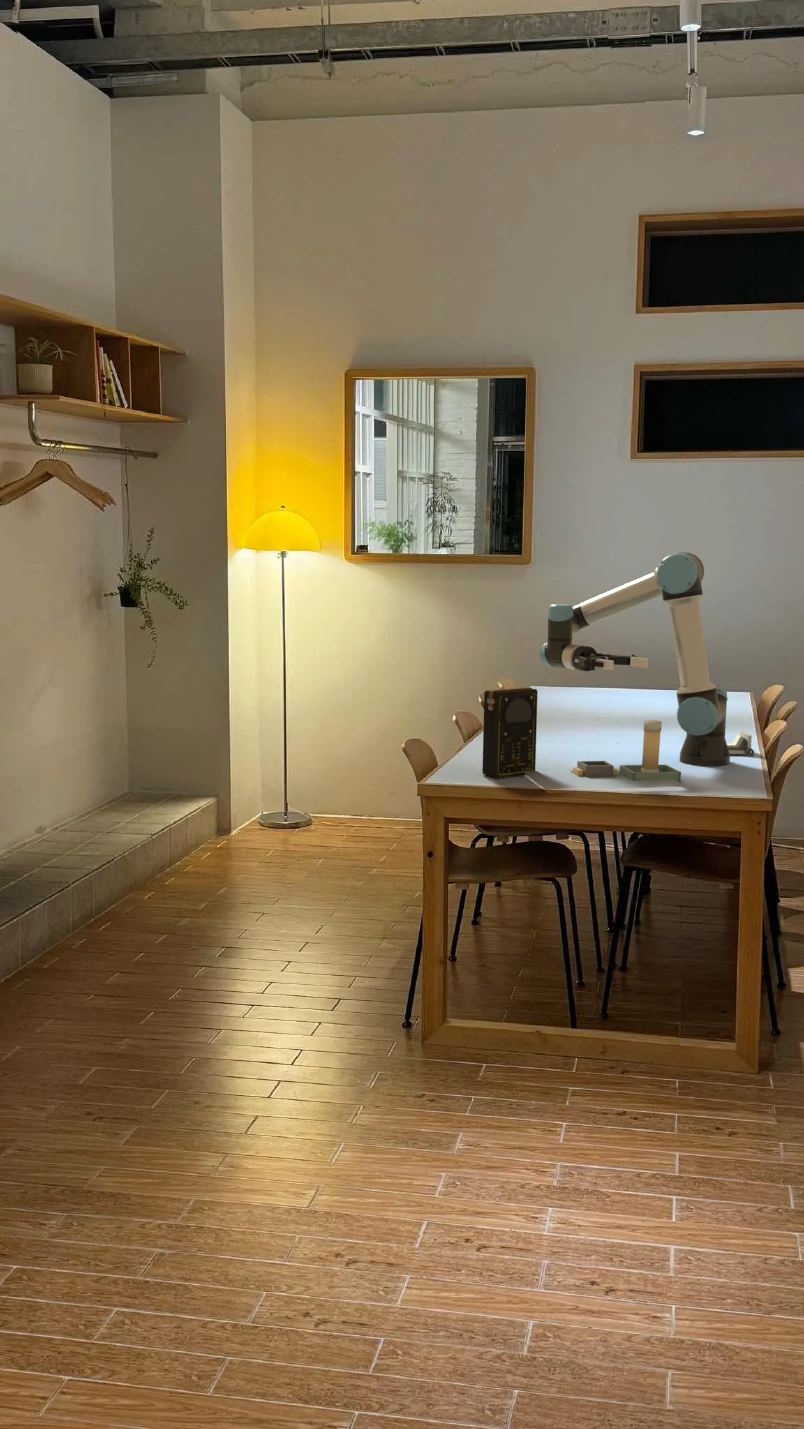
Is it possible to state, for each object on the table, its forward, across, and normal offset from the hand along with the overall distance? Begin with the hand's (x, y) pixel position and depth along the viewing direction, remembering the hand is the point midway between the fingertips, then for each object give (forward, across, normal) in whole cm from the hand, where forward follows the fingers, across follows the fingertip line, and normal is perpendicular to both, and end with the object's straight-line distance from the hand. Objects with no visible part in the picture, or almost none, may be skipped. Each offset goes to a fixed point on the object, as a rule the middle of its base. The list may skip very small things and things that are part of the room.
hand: (630, 664), depth 382 cm
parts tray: (+10, 0, -32) cm, 33 cm away
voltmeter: (-16, +31, -32) cm, 47 cm away
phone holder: (-11, -53, -33) cm, 63 cm away
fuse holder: (0, +12, -32) cm, 34 cm away
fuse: (+10, 0, -31) cm, 33 cm away
